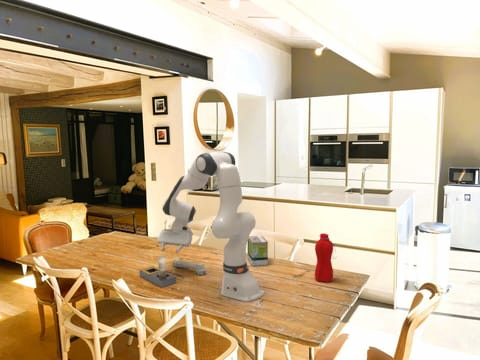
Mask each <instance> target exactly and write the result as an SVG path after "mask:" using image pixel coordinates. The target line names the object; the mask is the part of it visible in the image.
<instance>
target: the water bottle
mask: <svg viewBox="0 0 480 360" xmlns="http://www.w3.org/2000/svg"><path fill="white" fill-rule="evenodd" d="M318 236H319V239H318V240H317V241H316V243H315V245H314V251H315V256H316V265H315V270H314V279H315V281H318V282H323V283H330V282H332V281H333V278H334V269H333V265H332V257H333V253H334V251H335V252H337V251H336V249H335V250H334V248H336V247H335V245H334V243H333V242H332V240H330V238H329V234H328V233H325V232H324V233H320V234H319V235H318ZM334 259H335V260H336V259H337V257H335V258H334Z"/></svg>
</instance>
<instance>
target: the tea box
mask: <svg viewBox="0 0 480 360" xmlns="http://www.w3.org/2000/svg"><path fill="white" fill-rule="evenodd" d="M268 245H269V242H268V240H267V239H266V238H265V237H264V236H263V235H249V238H248V241H247V260H248V261H249V262H250V264H251V266H252V267H257V266H258V267H259V266H260V267H261V266H268V264H269V263H268V262H269V261H268V260H269V258H268V255H269V254H268V253H269V252H268V251H269V249H268V247H269V246H268Z"/></svg>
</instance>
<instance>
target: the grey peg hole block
mask: <svg viewBox="0 0 480 360" xmlns="http://www.w3.org/2000/svg"><path fill="white" fill-rule="evenodd" d="M138 271H139V277H140V278H142V279H144V280H146V281H149V282H150V283H152V284H154V285H155V286H157V287H160V288H165V287H168V286H170V285H174V284H177V276H176V275H174V274H172V273H169V272H167V271H166V272H167V277H165V278H162V279H161V278H159V267H156V266H153V265H152V266H150V267H146V268H143V269H139V270H138Z"/></svg>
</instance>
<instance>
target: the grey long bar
mask: <svg viewBox="0 0 480 360" xmlns="http://www.w3.org/2000/svg"><path fill="white" fill-rule="evenodd" d="M172 267H175V268H178V269H179V268H182V269H193V270H195V272H196V275H197V276H200V275H201V276H204V275H206V274H207V272H206V271H207V268H206V267H205V264H204V263H202V262H201V263H195V262H191V261H184V260H181V259H178V260H177V259H175V260H173V262H172Z"/></svg>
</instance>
